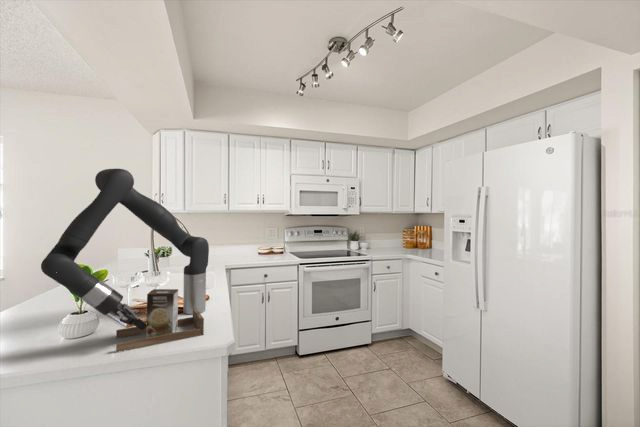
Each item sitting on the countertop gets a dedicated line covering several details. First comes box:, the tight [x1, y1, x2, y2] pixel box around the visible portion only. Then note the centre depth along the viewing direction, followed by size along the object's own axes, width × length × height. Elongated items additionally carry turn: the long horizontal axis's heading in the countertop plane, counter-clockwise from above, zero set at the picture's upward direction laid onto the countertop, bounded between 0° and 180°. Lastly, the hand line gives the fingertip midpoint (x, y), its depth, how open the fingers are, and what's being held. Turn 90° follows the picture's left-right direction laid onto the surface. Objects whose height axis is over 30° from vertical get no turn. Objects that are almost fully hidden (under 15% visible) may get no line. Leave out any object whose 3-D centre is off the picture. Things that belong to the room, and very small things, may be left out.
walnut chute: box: [115, 308, 205, 353], centre depth 110 cm, size 14×27×6 cm, turn 123°
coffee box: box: [145, 288, 179, 338], centre depth 111 cm, size 9×6×16 cm
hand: (144, 327), depth 107 cm, fingers closed
